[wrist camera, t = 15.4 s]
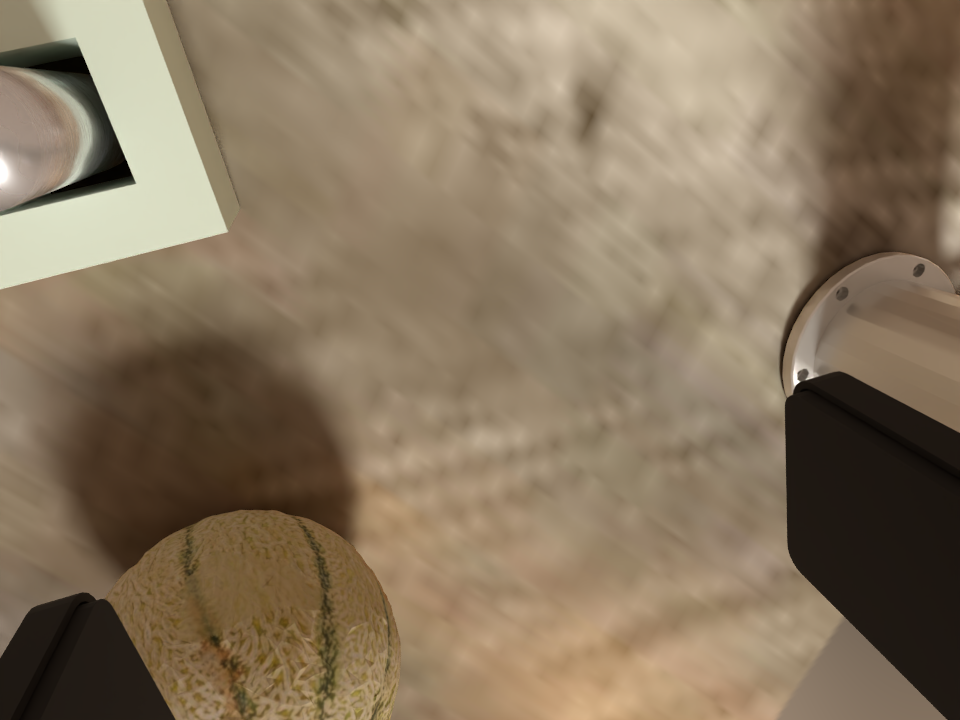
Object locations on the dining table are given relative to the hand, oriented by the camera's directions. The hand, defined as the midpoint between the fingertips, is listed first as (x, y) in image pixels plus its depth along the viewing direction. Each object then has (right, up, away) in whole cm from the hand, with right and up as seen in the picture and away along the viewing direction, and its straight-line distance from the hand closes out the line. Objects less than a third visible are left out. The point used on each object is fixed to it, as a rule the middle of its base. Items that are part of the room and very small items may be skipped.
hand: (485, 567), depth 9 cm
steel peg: (-17, +13, +20) cm, 29 cm away
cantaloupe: (-13, -9, +30) cm, 34 cm away
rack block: (-17, +13, +20) cm, 29 cm away
